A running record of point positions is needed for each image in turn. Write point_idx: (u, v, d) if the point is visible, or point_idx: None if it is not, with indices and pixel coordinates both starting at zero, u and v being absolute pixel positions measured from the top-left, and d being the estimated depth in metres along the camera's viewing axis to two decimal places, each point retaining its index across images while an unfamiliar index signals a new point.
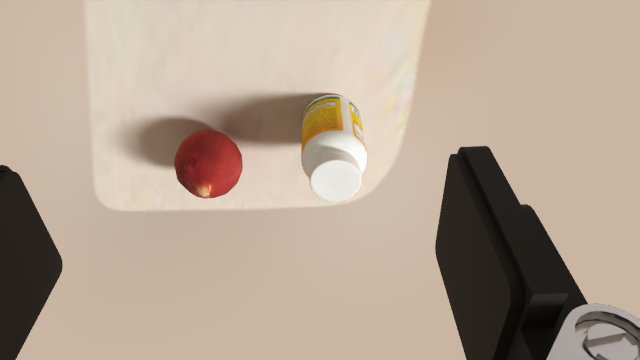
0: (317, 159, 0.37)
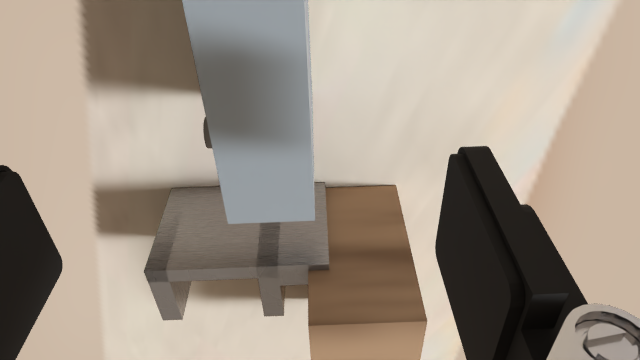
0: None
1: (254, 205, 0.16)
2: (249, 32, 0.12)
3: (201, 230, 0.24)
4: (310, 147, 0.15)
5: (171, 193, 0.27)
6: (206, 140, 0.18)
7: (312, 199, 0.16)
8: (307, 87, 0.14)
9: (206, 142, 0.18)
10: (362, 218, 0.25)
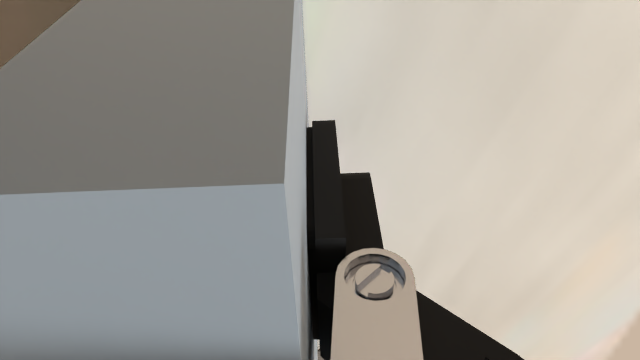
0: None
1: None
2: None
3: None
4: None
5: None
6: None
7: None
8: None
9: None
10: None
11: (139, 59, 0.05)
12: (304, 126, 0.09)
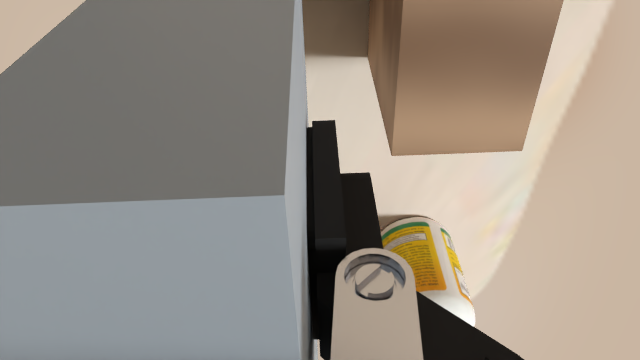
0: None
1: None
2: None
3: None
4: None
5: None
6: None
7: None
8: None
9: None
10: None
11: (139, 65, 0.05)
12: (304, 130, 0.09)
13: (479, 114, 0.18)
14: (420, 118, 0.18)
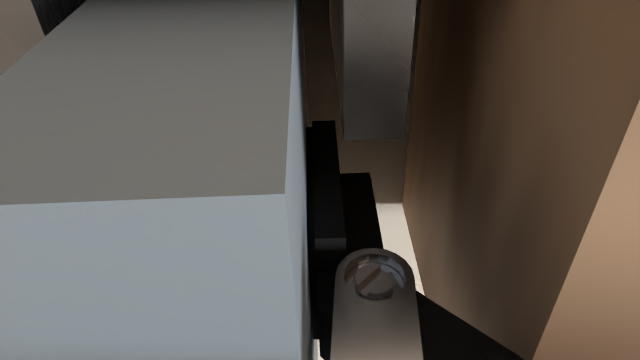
0: None
1: None
2: None
3: None
4: None
5: None
6: None
7: None
8: None
9: None
10: None
11: (140, 65, 0.05)
12: (304, 130, 0.09)
13: None
14: None
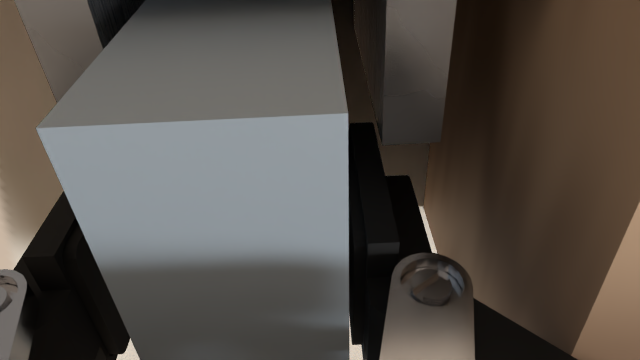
0: None
1: None
2: (243, 328, 0.07)
3: None
4: None
5: None
6: None
7: None
8: None
9: None
10: None
11: (216, 37, 0.06)
12: None
13: None
14: None
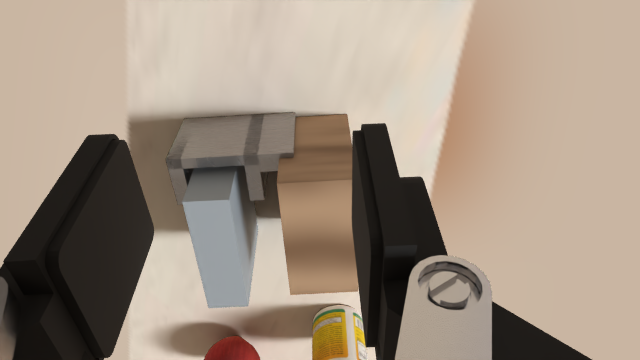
0: None
1: (220, 300, 0.36)
2: (214, 239, 0.33)
3: (205, 138, 0.35)
4: (242, 277, 0.35)
5: (184, 121, 0.37)
6: None
7: (246, 297, 0.36)
8: (238, 256, 0.34)
9: None
10: (320, 131, 0.35)
11: (210, 181, 0.33)
12: (243, 187, 0.37)
13: (331, 276, 0.35)
14: (301, 278, 0.35)
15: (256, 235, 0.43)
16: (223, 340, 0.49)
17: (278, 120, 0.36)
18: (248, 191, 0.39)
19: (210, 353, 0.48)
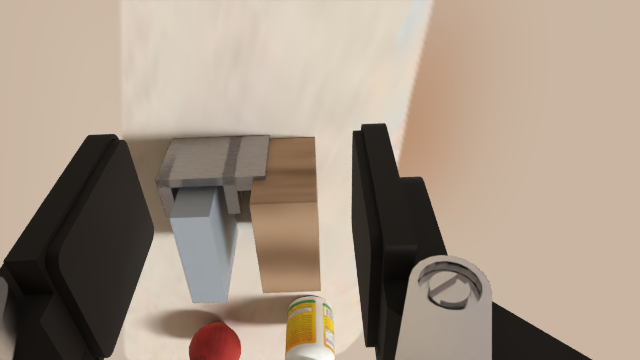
0: None
1: (202, 296, 0.42)
2: (197, 248, 0.39)
3: (190, 160, 0.40)
4: (221, 278, 0.41)
5: (171, 141, 0.42)
6: None
7: (224, 294, 0.42)
8: (218, 261, 0.40)
9: None
10: (290, 154, 0.41)
11: (193, 198, 0.38)
12: (223, 200, 0.43)
13: (297, 278, 0.41)
14: (272, 280, 0.41)
15: (236, 237, 0.49)
16: (207, 326, 0.56)
17: (254, 143, 0.42)
18: None
19: (196, 337, 0.55)
